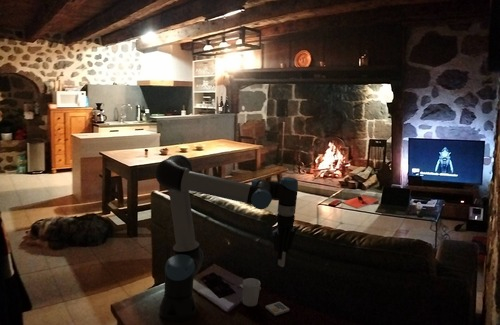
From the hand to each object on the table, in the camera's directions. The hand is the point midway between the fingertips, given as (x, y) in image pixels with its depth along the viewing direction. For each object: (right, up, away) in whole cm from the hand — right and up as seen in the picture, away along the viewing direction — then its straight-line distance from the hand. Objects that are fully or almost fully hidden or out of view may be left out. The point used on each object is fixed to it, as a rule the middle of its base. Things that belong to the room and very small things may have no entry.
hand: (281, 265), depth 175 cm
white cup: (-14, -19, +7) cm, 24 cm away
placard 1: (-13, -16, +20) cm, 29 cm away
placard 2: (-1, -20, +3) cm, 21 cm away
